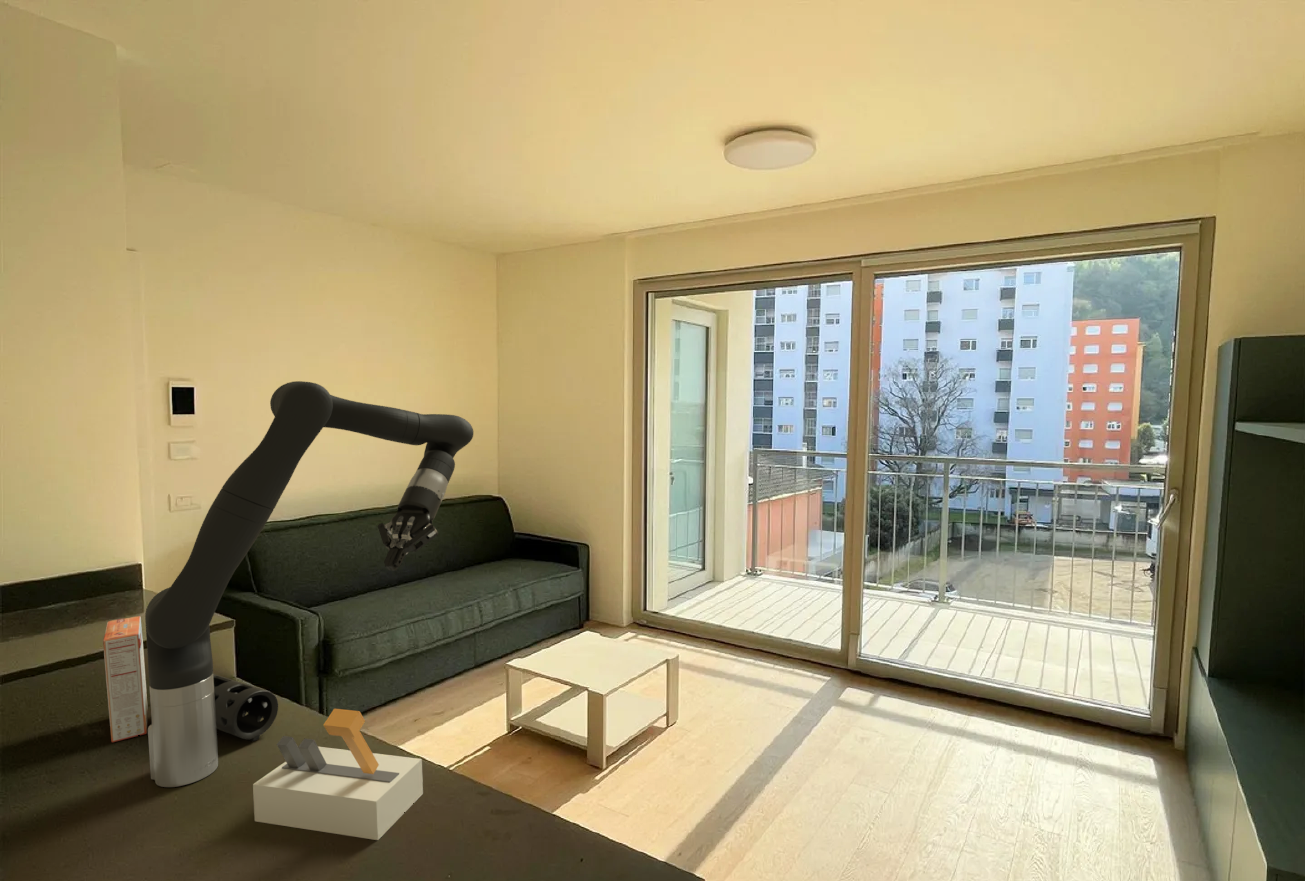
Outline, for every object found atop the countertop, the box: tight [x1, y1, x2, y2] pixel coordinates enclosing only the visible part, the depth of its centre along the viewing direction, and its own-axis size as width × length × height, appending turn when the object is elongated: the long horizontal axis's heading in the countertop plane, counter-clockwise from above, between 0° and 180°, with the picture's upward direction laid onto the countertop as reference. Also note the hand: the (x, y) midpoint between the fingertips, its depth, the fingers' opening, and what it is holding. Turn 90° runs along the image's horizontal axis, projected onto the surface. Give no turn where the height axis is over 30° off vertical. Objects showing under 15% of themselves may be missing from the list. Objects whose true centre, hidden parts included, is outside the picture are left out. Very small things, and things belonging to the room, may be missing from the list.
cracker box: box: [103, 615, 148, 743], centre depth 136 cm, size 14×6×21 cm, turn 36°
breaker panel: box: [252, 735, 424, 841], centre depth 107 cm, size 22×12×12 cm, turn 77°
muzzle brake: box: [213, 673, 279, 742], centre depth 135 cm, size 10×28×10 cm, turn 62°
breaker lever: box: [323, 708, 379, 774], centre depth 102 cm, size 4×3×13 cm, turn 77°
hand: (390, 568), depth 127 cm, fingers closed
